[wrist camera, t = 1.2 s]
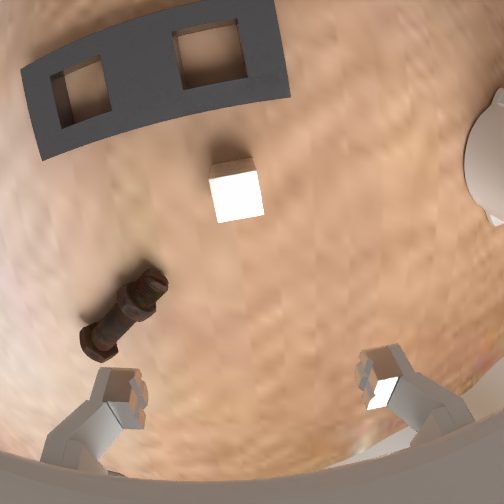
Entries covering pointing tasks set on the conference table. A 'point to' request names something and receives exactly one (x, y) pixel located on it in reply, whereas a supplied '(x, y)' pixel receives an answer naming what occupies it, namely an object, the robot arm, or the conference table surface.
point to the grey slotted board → (153, 72)
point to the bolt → (123, 315)
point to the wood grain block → (235, 190)
